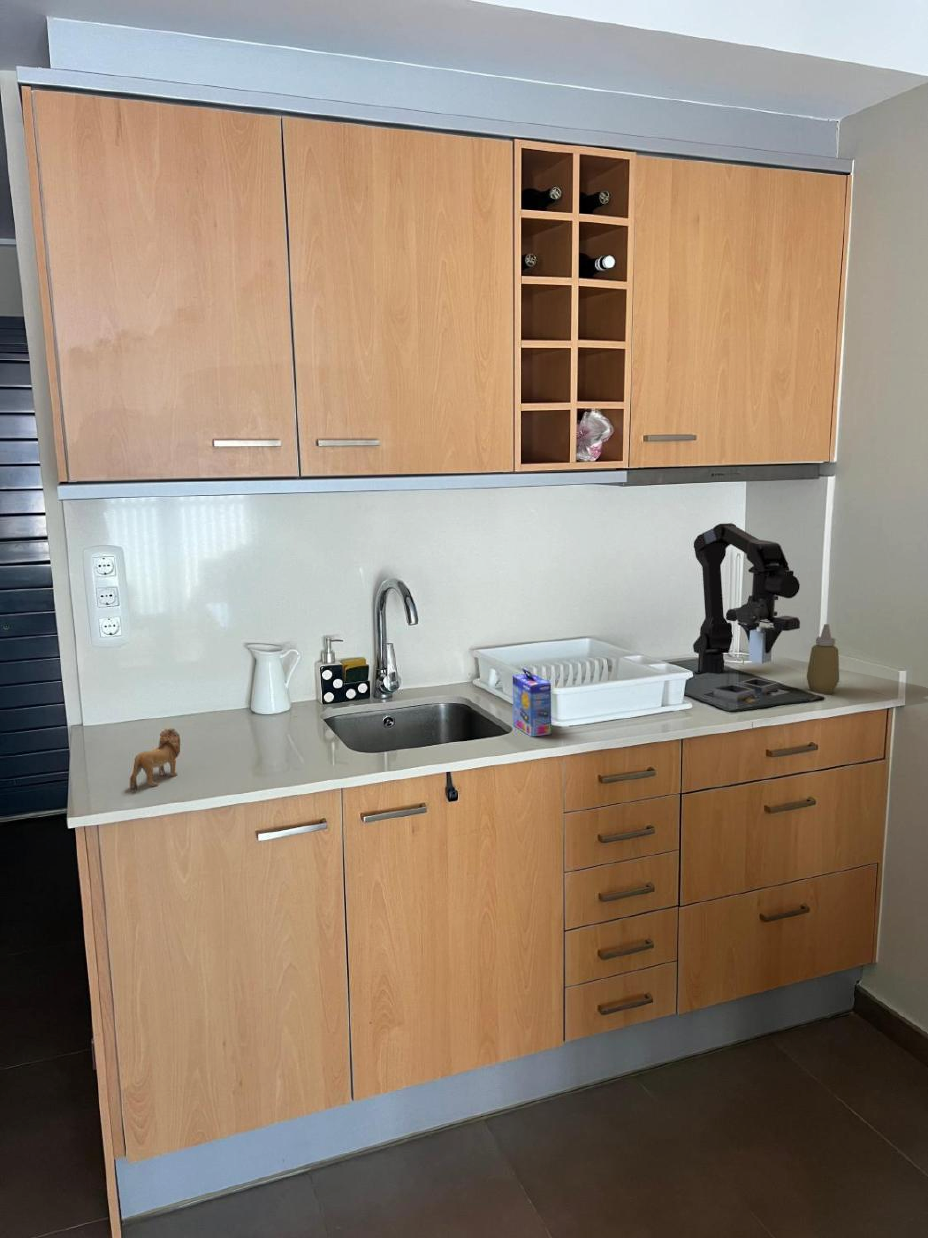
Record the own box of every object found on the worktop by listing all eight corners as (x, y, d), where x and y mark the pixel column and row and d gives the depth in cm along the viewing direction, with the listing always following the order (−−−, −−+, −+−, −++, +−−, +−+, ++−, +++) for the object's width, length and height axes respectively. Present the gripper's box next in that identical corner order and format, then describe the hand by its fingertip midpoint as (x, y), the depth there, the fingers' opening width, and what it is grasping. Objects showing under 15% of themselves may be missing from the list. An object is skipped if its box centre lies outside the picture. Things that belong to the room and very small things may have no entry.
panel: (702, 698, 241) (702, 687, 241) (750, 686, 253) (750, 675, 253) (741, 709, 232) (741, 697, 231) (789, 695, 244) (790, 684, 243)
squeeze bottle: (798, 689, 249) (803, 623, 246) (821, 686, 253) (826, 620, 249) (821, 697, 242) (826, 628, 239) (845, 693, 246) (850, 626, 242)
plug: (748, 660, 244) (750, 626, 243) (757, 658, 247) (759, 624, 245) (761, 663, 241) (763, 629, 240) (770, 661, 244) (772, 627, 242)
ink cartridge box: (511, 725, 220) (511, 665, 217) (532, 722, 222) (532, 662, 219) (530, 737, 211) (531, 675, 208) (552, 734, 213) (553, 672, 210)
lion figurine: (165, 766, 193) (162, 724, 191) (188, 769, 192) (186, 726, 190) (122, 792, 179) (119, 747, 177) (147, 795, 178) (144, 749, 176)
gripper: (713, 590, 243) (710, 649, 246) (776, 600, 228) (772, 663, 231) (740, 586, 250) (737, 643, 253) (803, 595, 235) (798, 656, 238)
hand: (760, 651), depth 244 cm, fingers closed on plug, 4 cm apart
